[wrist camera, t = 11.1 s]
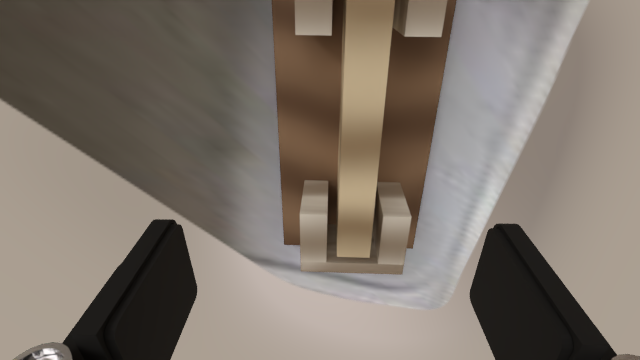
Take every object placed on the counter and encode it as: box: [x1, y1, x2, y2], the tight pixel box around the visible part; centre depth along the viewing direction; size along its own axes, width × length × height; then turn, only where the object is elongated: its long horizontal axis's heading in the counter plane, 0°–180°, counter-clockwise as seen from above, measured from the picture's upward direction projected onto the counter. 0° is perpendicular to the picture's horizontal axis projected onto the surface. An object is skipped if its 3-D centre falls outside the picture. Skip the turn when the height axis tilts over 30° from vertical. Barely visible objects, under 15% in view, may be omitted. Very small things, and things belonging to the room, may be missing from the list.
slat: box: [336, 0, 395, 258], centre depth 24 cm, size 18×2×6 cm, turn 179°
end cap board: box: [272, 0, 456, 274], centre depth 25 cm, size 26×12×6 cm, turn 179°
